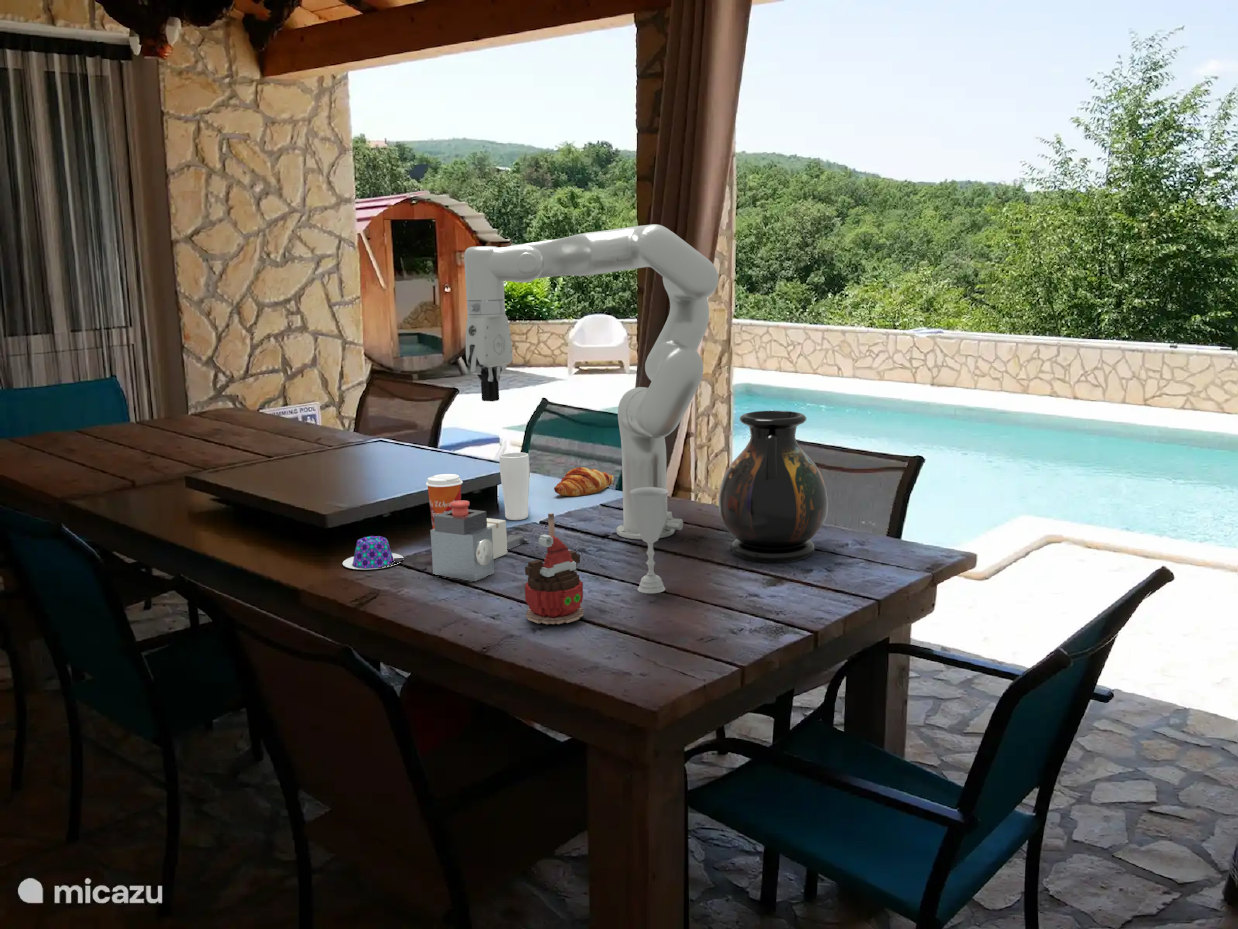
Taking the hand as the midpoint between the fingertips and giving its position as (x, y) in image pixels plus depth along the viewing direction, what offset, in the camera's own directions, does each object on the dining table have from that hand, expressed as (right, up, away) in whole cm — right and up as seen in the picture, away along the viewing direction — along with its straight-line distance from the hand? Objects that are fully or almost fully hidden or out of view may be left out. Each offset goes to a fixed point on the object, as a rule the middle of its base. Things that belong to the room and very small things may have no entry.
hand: (490, 400), depth 218 cm
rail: (+1, -31, +4) cm, 31 cm away
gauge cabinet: (-4, -34, -12) cm, 36 cm away
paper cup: (-11, -30, +14) cm, 34 cm away
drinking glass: (+2, -26, +32) cm, 41 cm away
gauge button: (-4, -25, -14) cm, 28 cm away
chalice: (+32, -36, -24) cm, 54 cm away
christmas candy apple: (+15, -39, -39) cm, 57 cm away
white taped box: (-1, -32, +1) cm, 32 cm away
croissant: (+18, -20, +59) cm, 65 cm away
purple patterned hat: (-23, -33, -2) cm, 41 cm away
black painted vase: (+57, -31, -3) cm, 65 cm away
